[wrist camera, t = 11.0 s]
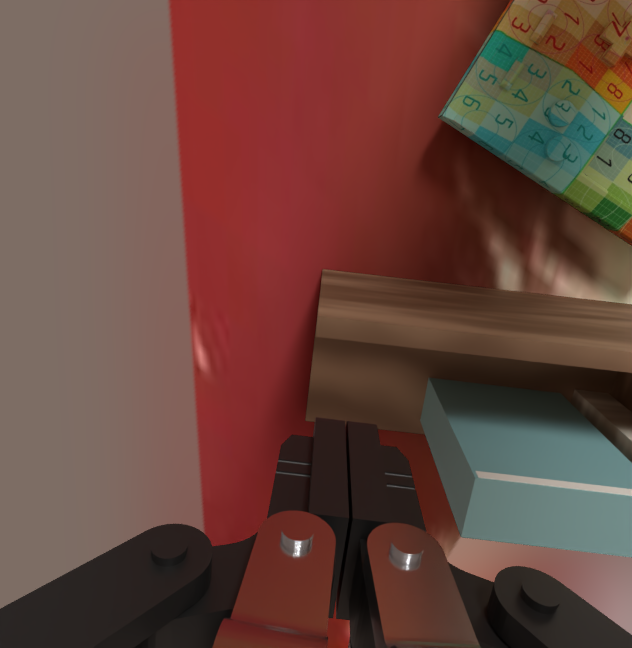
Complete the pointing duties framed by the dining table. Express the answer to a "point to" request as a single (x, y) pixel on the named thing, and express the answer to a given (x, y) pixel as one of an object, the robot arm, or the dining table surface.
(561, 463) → the rectangular block
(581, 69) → the puzzle game
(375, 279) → the open wooden box
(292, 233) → the dining table surface
